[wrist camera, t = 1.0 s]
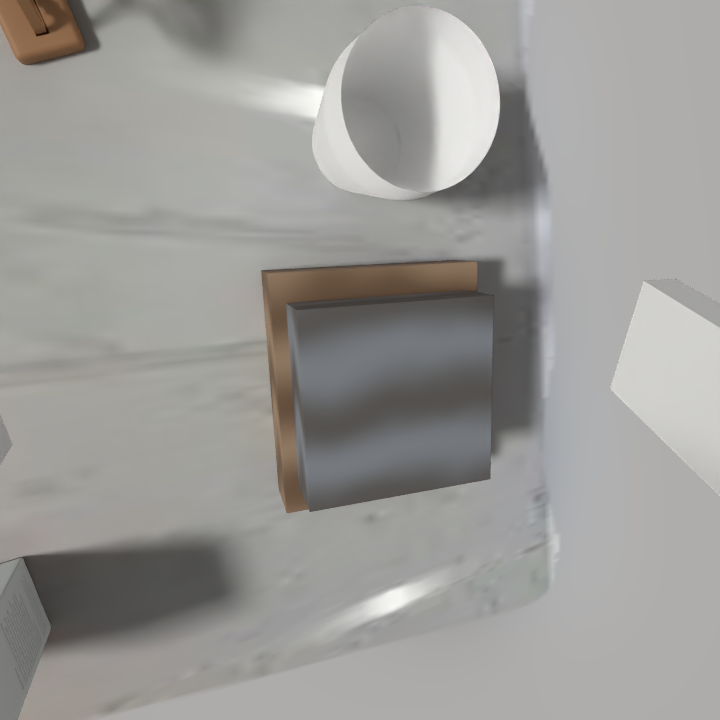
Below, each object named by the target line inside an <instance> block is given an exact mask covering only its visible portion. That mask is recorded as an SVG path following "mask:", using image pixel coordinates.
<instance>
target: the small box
mask: <svg viewBox="0 0 720 720" xmlns="http://www.w3.org/2000/svg"><path fill="white" fill-rule="evenodd" d="M50 630H51V625H50V623H49V620H48V618H47V615H46V613H45V611H44V608H43V606H42V603H41V601H40V599H39V596H38V594H37V591H36V589H35V586H34V583H33V581H32V579H31V576H30V574H29V571H28V569H27V567H26V564H25V562H24V559H23V558H19V559H15V560H12V561H9V562H5V563H2V564H0V720H17V719H18V716H19V714H20V711H21V708H22V706H23V703H24V700H25V698H26V695H27V692H28V690H29V687H30V684H31V682H32V679H33V676H34V674H35V671H36V668H37V666H38V663H39V660H40V657H41V655H42V652H43V649H44V646H45V644H46V641H47V638H48V636H49V633H50Z"/></svg>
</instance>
